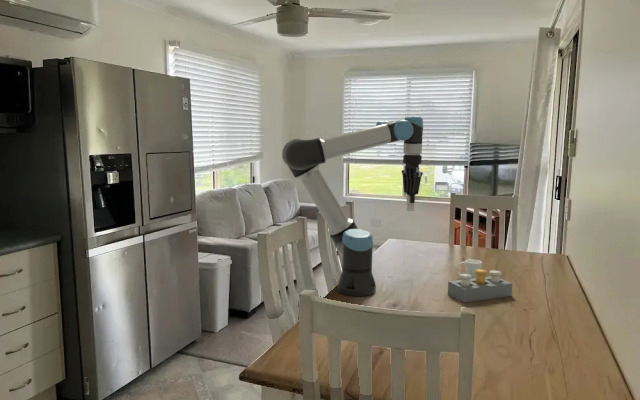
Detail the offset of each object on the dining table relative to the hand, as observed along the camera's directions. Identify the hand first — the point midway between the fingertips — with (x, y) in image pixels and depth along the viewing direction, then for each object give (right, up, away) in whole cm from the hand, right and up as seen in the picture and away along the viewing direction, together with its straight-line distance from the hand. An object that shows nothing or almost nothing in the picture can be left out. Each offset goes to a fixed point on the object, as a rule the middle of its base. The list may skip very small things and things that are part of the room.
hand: (410, 210), depth 197 cm
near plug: (+17, -31, -19) cm, 40 cm away
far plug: (+30, -30, -15) cm, 45 cm away
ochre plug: (+24, -29, -17) cm, 41 cm away
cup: (+26, -30, +3) cm, 39 cm away
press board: (+23, -32, -17) cm, 43 cm away
